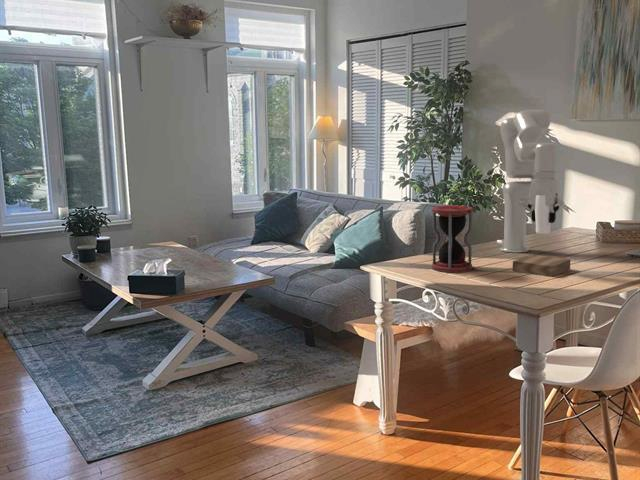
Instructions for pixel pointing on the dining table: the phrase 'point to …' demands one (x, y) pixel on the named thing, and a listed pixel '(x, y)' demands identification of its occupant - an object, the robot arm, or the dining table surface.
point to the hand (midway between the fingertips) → (543, 221)
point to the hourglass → (452, 238)
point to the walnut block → (541, 265)
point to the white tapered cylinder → (542, 216)
